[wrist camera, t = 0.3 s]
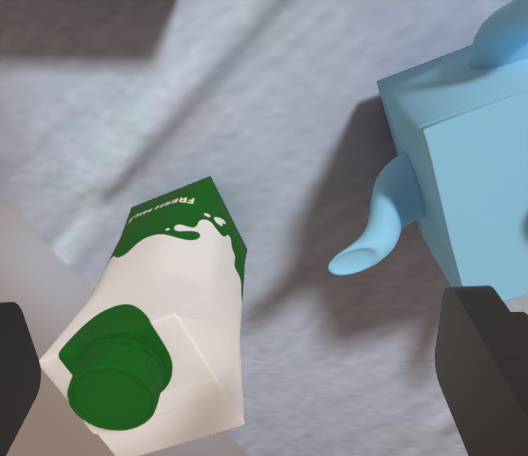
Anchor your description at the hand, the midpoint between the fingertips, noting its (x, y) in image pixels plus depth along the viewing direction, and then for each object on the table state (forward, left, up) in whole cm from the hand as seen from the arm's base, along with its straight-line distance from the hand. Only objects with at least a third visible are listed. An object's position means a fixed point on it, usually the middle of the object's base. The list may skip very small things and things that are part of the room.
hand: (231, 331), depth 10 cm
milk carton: (+13, -5, -29) cm, 32 cm away
